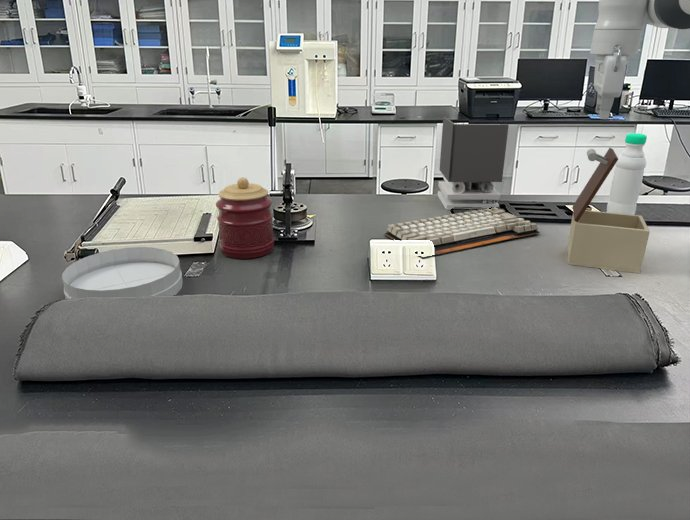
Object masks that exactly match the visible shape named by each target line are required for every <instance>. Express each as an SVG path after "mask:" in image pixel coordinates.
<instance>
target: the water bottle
mask: <svg viewBox="0 0 690 520" xmlns="http://www.w3.org/2000/svg"><path fill="white" fill-rule="evenodd" d="M647 138H648V137H647V135H646V134H645V133H636V132H631V133H627V134H626V136H625V139H624V142H625V143H624V144H625V148H624V149H623V150H621V153H620V155H619V156H617V157H618V161H617V162H616V164H615V168H614V171H613V175H612V180H611V185H610V189H609V199H608V201H607V205H606V212H609V213H620V214H630V215H636V211H637V202H638V199H639V196H640V193H641V189H642V184H643V179H644V174H645V173H644V172H645V168H646V166H647V160H646V157H645V152H644V150H643V149H644V148H643V147H644V146H645V144H646V143H647V140H648V139H647Z"/></svg>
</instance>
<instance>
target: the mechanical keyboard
mask: <svg viewBox="0 0 690 520" xmlns="http://www.w3.org/2000/svg"><path fill="white" fill-rule="evenodd" d="M537 234H538V235H539V234H541V233H540V231H539V227H538V224H537V223H535V222H531V220H525V219H524V218H522V217H518V216H517V215H514V214H511V213H509V212H506V211H505V210H504V209H502V208H499V209H498V208H496V207H494V208H491V209H489V208H487V209H484V210H482V209H481V210H470V211H464V212H456V213H451V214H449V215H448V214H443V215H441V216H434V217H427V218H426V219H425V218H422V219H419V220H417V219H416V220H411V221H404V222H398V223H396V224H394V223H391V224H387V229H386V232H385V233H383V235H384V236H385V237H387V238H389V239H390V240H392V239H395V240H430V241H432V242H433V244H434V247H435V256H442V255H444V254H449V253H454V252H455V253H456V252H458V251H464V250H468V249H472V248H477V247H481V246H486V245H491V244H494V243H499V242H502V241H503V242H504V241H507V240H511V239H518V238H522V237H523V238H524V237H529V236H533V235H537Z"/></svg>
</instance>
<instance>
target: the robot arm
mask: <svg viewBox="0 0 690 520" xmlns="http://www.w3.org/2000/svg"><path fill="white" fill-rule="evenodd" d="M597 6H598V7H597V9H598V18H597V21H596V23H595V26H594V28H593V29H594V30H593V34H592V40H591V44H590V51H589V54H590V55H595V59H594V63H595V64H594V75H593V76H594V77H593V89H594V90H595V92H597V93H596V106H595V113H596V114H598V118H599V119H600V120H608V119H609V118H610V114H611V110H612V107H613V104H614V100H615V98H620V97H621V95H622V93H623V86H624V82H625V76H626V72H627V71H626V70H627V65H628V64H630V59H631V56H637V55H638V54H639V50H640V45H641V40H642V36H643V31H644V28H645V27H644V26H645V25H648V26H649V25H650V26H653V27H655V28H659V29H675V30H676V29H677V30H689V29H690V0H598V5H597Z"/></svg>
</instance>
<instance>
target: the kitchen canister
mask: <svg viewBox="0 0 690 520" xmlns="http://www.w3.org/2000/svg"><path fill="white" fill-rule="evenodd" d="M268 194H269V190H268V189H266V188H264V187H262V186H261V185H260V184H257V183H252V182H251V183H250V182H249V180H248V178H246V177H239V178H238V179H237V182H236V183H234V184H230V185H227V186H225V187H224V189H222V190H220V191H219V192H218V196H219V197H220V199H218V200H216V203H215V207H216V208H217V210H218V215H217V217H216V220H217V225H218V235H219V241H218V243H219V248H220V251H221V254H223V255H224V256H226V257H228V258H233V259H245V260H246V259H254V258H259V257H264V256H266V255H268V254H270V253H271V252H272V251H273V250H274V247H275V237H274V224H273V222H274V221H273V218H274V214H273V212H272V210H271V206H272V205H273V200H272V199H271V198H270V197H269V196H268Z"/></svg>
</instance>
